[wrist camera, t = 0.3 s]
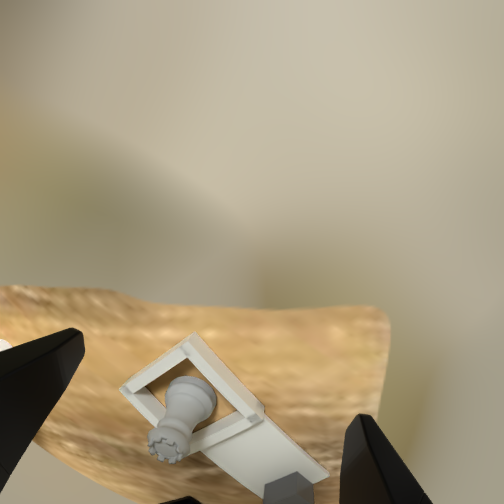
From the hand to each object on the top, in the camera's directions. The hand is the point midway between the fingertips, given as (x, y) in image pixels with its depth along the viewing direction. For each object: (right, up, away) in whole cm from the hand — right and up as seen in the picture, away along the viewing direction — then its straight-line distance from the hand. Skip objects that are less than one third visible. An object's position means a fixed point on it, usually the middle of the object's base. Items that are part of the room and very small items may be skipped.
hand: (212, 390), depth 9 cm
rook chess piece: (-4, -8, +17) cm, 20 cm away
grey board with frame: (0, -13, +17) cm, 22 cm away
